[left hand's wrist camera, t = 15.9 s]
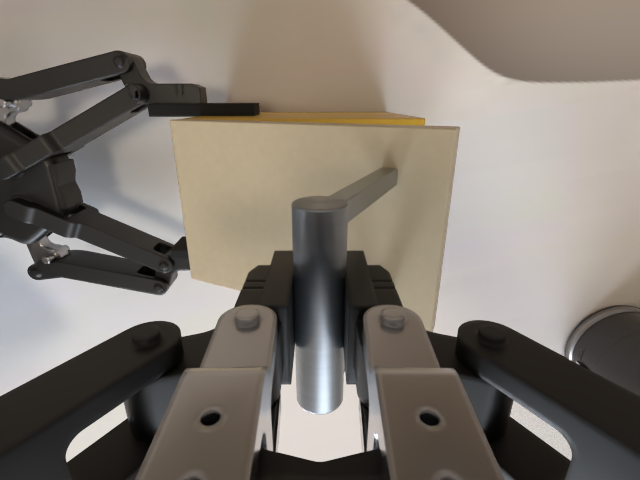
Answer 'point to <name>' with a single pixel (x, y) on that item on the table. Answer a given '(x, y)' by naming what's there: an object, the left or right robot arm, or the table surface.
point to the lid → (317, 218)
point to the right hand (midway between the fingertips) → (260, 182)
